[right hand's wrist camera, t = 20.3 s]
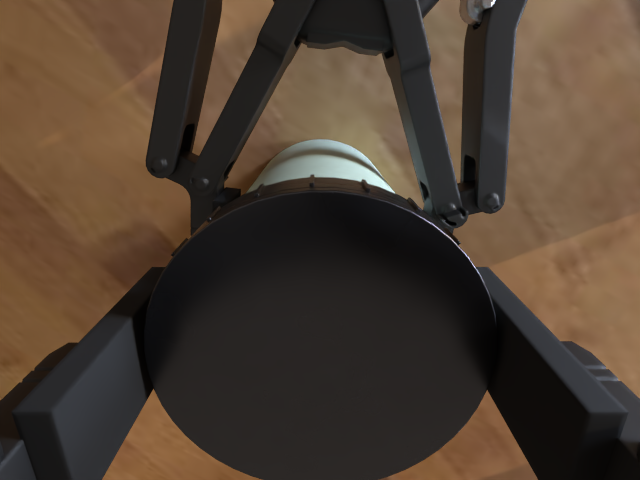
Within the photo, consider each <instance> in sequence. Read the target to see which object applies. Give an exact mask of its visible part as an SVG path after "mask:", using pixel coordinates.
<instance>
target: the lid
mask: <svg viewBox="0 0 640 480" xmlns="http://www.w3.org/2000/svg"><path fill="white" fill-rule="evenodd" d="M459 244H460V242H459V240H458V239H457V238H456V237H455V236H454V235H453V234H452V233H451V232H450V231H449V230H448V229H447V228H446V227H445V228H444V229H443V228H442V227H441V226H440V225H439V224H438V223H437V222H436V221H435V220H434V219H433V218H432V217H430V216H429V215H428V214H427V213H425V212H424V211H423V210H422V209H421V208H419V207H418V206H417V204H416V203H415V202H414V201H413V200H412V199H411V198H408V200H406V199H405V198H403V197H401V196H400V195H397V194H395V193H393V192H390V191H388V190H386V189H383V188H381V187H378V186H375V185H371V184H368V183H367V181H366V180H364V179H362V181H361V182H360V181H357V180H349V179H342V178H335V177H315V176H314V174H311V175H310V177H307V178H299V179H291V180H285V181H281V182H277V183H274V184H270V185H266V186H264V184H260V185H259V187H258V188H257V189H256V190H253V191H251V192H248V193H246V194H244V195H242V196H240V197H238V198H237V199H235V200H233V201H231V202H230V203H228V204H226V205H225V206H223V207H222V208H221V207H220V206H218V207H217V208H216V209H215V210H214V211H213V212H212V213H211V214H210V215H209V217H208V218H207V219H206V221H205V222H204V223H203V224H202V225H201V226H200V227H199V228H198V229H197V230H196V232H195V233H194V234H193V235H192V236H191V237H190V238H189V239H187V238H186V239H185V240H184V241H183V242H182V243H181V244H180V245H179V246H178V248H177V249H176V250H175V251H174V252H173V253H172V254H171V256H173V258H172V259H171V260H170V262H169V263H168V265H167V266H166V268H165V269H164V270H163V272H162V274H161V276H160V278H159V280H158V282H157V284H156V286H155V288H154V290H153V292H152V296H151V299H150V302H149V305H148V308H147V313H146V320H145V327H144V353H145V359H146V364H147V370H148V373H149V376H150V379H151V382H152V385H153V388H154V390H155V392H156V394H157V396H158V398H159V400H160V402H161V404H162V406H163V407H164V409H165V410H166V412H167V413H168V415H169V416H170V418H171V419H172V421H173V422H174V423H175V424H176V425H177V426H178V427H179V429H180V430H181V431H182V432H183V433H184V434H185V435H186V436H187V437H188V438H189V439H190V440H191V441H193V442H194V443H195V444H196V445H197V446H198V447H199V448H201V449H202V450H203V451H205V452H206V453H208V454H209V455H211V456H212V457H214V458H215V459H217V460H218V461H220V462H222V463H224V464H226V465H228V466H229V467H231V468H233V469H235V470H238V471H240V472H243V473H245V474H248V475H250V476H253V477H256V478H259V479H263V480H378V479H382V478H385V477H388V476H391V475H393V474H396V473H398V472H401V471H403V470H406V469H408V468H410V467H412V466H413V465H415V464H417V463H419V462H421V461H423V460H424V459H426V458H427V457H429V456H430V455H432V454H433V453H435V452H436V451H438V450H439V449H440V448H442V447H443V446H444V445H445V444H446V443H447V442H449V441H450V440H451V439H452V438H453V437H454V436H455V435H456V434H457V433H458V432H459V431H460V430H461V429H462V428H463V427H464V425H465V424H466V423H467V422H468V421H469V419H470V418H471V416H472V415H473V413H474V412H475V411H476V409H477V408H478V406H479V404H480V402H481V400H482V398H483V397H484V395H485V393H486V391H487V388H488V385H489V382H490V380H491V377H492V374H493V370H494V365H495V360H496V355H497V326H496V317H495V312H494V308H493V305H492V301H491V298H490V294H489V292H488V290H487V288H486V286H485V281H484V280H483V279H482V277H481V275H480V273H479V272H478V270H477V269H476V267H475V266H474V264H473V263H472V261H471V260H470V258H469V257H468V256H467V255H466V253H465V252H464V251H463V250H462V249H461V248H460V247H459V246H458V245H459Z"/></svg>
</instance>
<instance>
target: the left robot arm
mask: <svg viewBox="0 0 640 480" xmlns="http://www.w3.org/2000/svg"><path fill="white" fill-rule="evenodd" d="M273 1H274V5H273V7H272V9H271V11H270V13H269V15H268V17H267V19H266V21H265V23H264V25H263V27H262V29H261V31H260V33H259V36H258V39H257V43H256V46H255V48H254V50H253V52H252V54H251V56H250V58H249V60H248V62H247V64H246V66H245V68H244V70H243V72H242V73H241V75H240V77H239V79H238V81H237V83H236V85H235V87H234V89H233V91H232V93H231V95H230V97H229V99H228V101H227V103H226V105H225V107H224V109H223V111H222V113H221V115H220V117H219V118H218V120H217V122H216V124H215V126H214V128H213V130H212V132H211V134H210V136H209V138H208V140H207V142H206V144H205V146H204V148H203V150H202V152H201V154H200V156H197V155H195V154H193V153H192V150H193V145H194V140H195V136H196V131H197V126H198V122H199V117H200V112H201V107H202V103H203V98H204V93H205V89H206V84H207V79H208V75H209V70H210V65H211V61H212V56H213V51H214V47H215V42H216V37H217V32H218V28H219V23H220V17H221V11H222V0H174V1H173V7H172V13H171V18H170V24H169V30H168V36H167V41H166V47H165V53H164V58H163V64H162V70H161V76H160V81H159V87H158V93H157V99H156V104H155V110H154V116H153V122H152V127H151V133H150V139H149V145H148V150H147V156H146V167H147V169H148V171H149V172H150V173H151V175H153V176H155V177H157V178H168V179H170V180H172V181H174V182H176V183H178V184H180V185H182V186H183V187H184V188H185V189H186V190H187V191H188V193H189V195H190V199H191V236H192V235H193V234H194V233H195V232H196V230H197V229H198V228H199V227H200V226H201V225H202V224H203V223H204V222H205V221H206V219H207V218H208V217H209V215H210V214H211V213H212V212H213V211H214V210H215V209H216V208H217V207H218V206H220V207H221V208H222V207H223V206H225V205H226V204H228V203H230V202H231V201H233V200H235V199H237V198H238V197H240V196H241V189H237V188H228V187H226V188H225V189H224V181H226V179H227V178H228V174H229V172H230V171H231V169H232V167H233V165H234V163H235V161H236V160H237V158H238V156H239V154H240V152H241V150H242V149H243V147H244V145H245V143H246V141H247V139H248V138H249V136H250V134H251V132H252V130H253V128H254V127H255V125H256V123H257V121H258V119H259V117H260V116H261V114H262V112H263V110H264V108H265V106H266V105H267V103H268V101H269V99H270V97H271V95H272V94H273V92H274V90H275V88H276V86H277V84H278V83H279V81H280V79H281V77H282V75H283V73H284V72H285V70H286V68H287V66H288V65H289V64H290V62H291V61H292V59H293V57H294V55H295V54H296V52H297V50H298V48H299V46H300V45H301V43H303V44H306V45H307V47H308V48H316V49H330V48H336V47H345V48H347V49H350V50H352V51H354V52H357V53H359V54H365V55H374V56H377V55H378V54H380V53H382V56H383V59H384V63H385V67H386V70H387V73H388V75H389V77H390V79H391V82H392V86H393V90H394V93H395V97H396V101H397V105H398V108H399V112H400V116H401V120H402V123H403V127H404V131H405V135H406V138H407V142H408V146H409V150H410V153H411V157H412V161H413V165H414V168H415V172H416V176H417V180H418V183H419V187H420V191H421V195H422V198H423V202H424V209H423V211H424V212H425V213H427V214H428V215H429V216H430V217H432V218H433V219H434V220H435V221H436V222H437V223H438V224H439V225H440V226H441V227H442V228H443V229H444V228H445V227H446V228H447V229H448V230H449V231H450V232H451V233H452V234H453V230H454V228H458V227H460V226H462V225H463V224H464V223H465V222H466V220H467V218H468V215H470V214H474V213H479V212H484V213H489V214H491V213H495V212H497V211H498V210H500V209H501V208H502V206H503V205H504V201H505V191H506V177H507V162H508V147H509V132H510V117H511V103H512V88H513V73H514V58H515V43H516V29H517V26H518V24H519V21H520V19H521V16H522V13H523V11H524V8H525V5H526V3H527V0H460V16H461V18H462V20H463V21H464V22H465V23H467V24H468V27H467V32H466V37H465V45H464V67H463V104H462V141H461V179H460V183H458V184H457V181H456V177H455V173H454V169H453V164H452V160H451V156H450V151H449V147H448V143H447V138H446V134H445V130H444V126H443V121H442V117H441V113H440V108H439V104H438V100H437V95H436V91H435V87H434V83H433V78H432V74H431V69H430V61H431V57H430V50H429V45H428V41H427V37H426V32H425V28H424V24H423V18H424V17H425V16H426V14H427V13H428V12H429V11H430V10H431V9H432V8H433V7H434V5H435V4H436V3H437V2H438V1H439V0H273Z"/></svg>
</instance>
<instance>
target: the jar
mask: <svg viewBox="0 0 640 480" xmlns="http://www.w3.org/2000/svg"><path fill="white" fill-rule="evenodd" d="M311 174H314V176H315V177H335V178H342V179H349V180H357V181H360V182H361V181H362V179H364V180H366V181H367V183H368V184H371V185H375V186H378V187H381V188H383V189H386V190H388V191H390V192H393V193H395V192H394V191H393V190H392V189H391V187H390V186H389V185H388V183H387V182H386V181H385V179H384V178H383V177H382V175H381V174H380V173H379V171H378V170H377V169H376V167H375V166H374V165H373V164H372V163H371V161H370V160H369V159H368V158H367V157H365V156H364V155H363V154H362V153H361V152H359V151H358V150H356V149H355V148H353V147H351V146H349V145H347V144H344V143H341V142H338V141H332V140H323V139H317V140H308V141H303V142H300V143H297V144H294V145H292V146H290V147H288V148H286V149H284V150H283V151H281V152H280V153H279V154H277V155H276V156H275V157H274V158H273V159H272V160H271V161H270V162H269V163H268V165H267V166H266V167H265V168H264V170H263V171H262V172H261V174H260V175H259V176H258V178H257V179H256V180H255V182H254V183H253V184H252V186H251V187H250V188H249V190H248V191H247V192H246V193H248V192H251V191H253V190H256V189H257V188H258V187H259V185H260V184H264V186H266V185H270V184H274V183H277V182H281V181H285V180H291V179H299V178H307V177H310V175H311Z"/></svg>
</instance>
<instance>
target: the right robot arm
mask: <svg viewBox="0 0 640 480" xmlns="http://www.w3.org/2000/svg"><path fill="white" fill-rule="evenodd" d="M165 268H166V267H152V268H151V269H150V270H149V271H148V272H147V273H146V274H145V275H144V276H143V277H142V278H141V279H140V280H139V281H138V282H137V283H136V284H135V285H134V286H133V287H132V288H131V289H130V290H129V291H128V292H127V293H126V294H125V295H124V296H123V298H122V299H121V300H120V301H119V302H118V303H117V304H116V305H115V306H114V307H113V308H112V309H111V310H110V311H109V312H108V313H107V314H106V315H105V316H104V317H103V318H102V319H101V320H100V321H99V322H98V323H97V324H96V325H95V326H94V327H93V328H92V329H91V330H90V331H89V332H88V333H87V335H86V336H85V337H84V338H83V339H82V340H81V341H80V342H79V343H67V344H66V345H64V346H62V347H61V348H59V349H57V350H55V351H54V352H52V353H50V354H49V355H48V356H47V357H46V358H45V359H44V360H43V361H41V362H40V363H39V364H38V365H37V366H36V367H35V370H34V371H31V372H30V373H29V374H28V375H27V376H26V377H25V378H24V379H23V381H22V383H19V384H18V385H16V386H15V387H14V388H13V389H12V390H11V391H10V392H9V393H8V394H7V395H6V396H5V397H4V398H3V399H2V400H1V401H0V480H102V478H103V477H104V475H105V473H106V471H107V469H108V468H109V466H110V464H111V462H112V461H113V459H114V457H115V455H116V454H117V452H118V450H119V448H120V447H121V445H122V443H123V441H124V439H125V438H126V436H127V434H128V432H129V431H130V429H131V427H132V425H133V424H134V422H135V420H136V418H137V417H138V415H139V413H140V411H141V409H142V408H143V406H144V404H145V402H146V401H147V399H148V397H149V395H150V394H151V392H152V390H153V385H152V382H151V379H150V376H149V373H148V370H147V364H146V359H145V353H144V327H145V320H146V313H147V308H148V305H149V302H150V299H151V296H152V292H153V290H154V288H155V286H156V284H157V282H158V280H159V278H160V276H161V274H162V272H163V270H164V269H165ZM476 269H477V270H478V272H479V273H480V275H481V277H482V279H483V280H484V281H485V286H486V288H487V290H488V292H489V294H490V298H491V301H492V305H493V308H494V312H495V317H496V326H497V355H496V360H495V365H494V370H493V374H492V377H491V380H490V382H489V385H488V388H487V390H488V392H489V394H490V395H491V397H492V399H493V401H494V402H495V404H496V406H497V408H498V409H499V411H500V413H501V415H502V417H503V418H504V420H505V422H506V424H507V425H508V427H509V429H510V431H511V432H512V434H513V436H514V438H515V439H516V441H517V443H518V445H519V447H520V448H521V450H522V452H523V454H524V455H525V457H526V459H527V461H528V462H529V464H530V466H531V468H532V469H533V471H534V473H535V475H536V477H537V478H538V480H640V399H639V398H638V397H637V396H636V395H635V394H634V393H633V392H632V391H631V390H630V389H629V388H628V387H627V386H626V385H624V384H623V383H622V382H621V381H618V378H617V377H616V376H615V375H614V374H613V373H612V372H611V371H610V370H609V369H606V366H605V365H603V364H602V363H601V362H600V361H599V360H598V359H597V358H596V357H595V356H594V355H593V354H592V353H591V352H589V351H587V350H585V349H584V348H582V347H580V346H579V345H577V344H575V343H574V342H572V341H559V340H558V339H557V338H556V337H555V336H554V335H553V333H552V332H551V331H550V330H549V329H548V328H547V327H546V326H545V325H544V324H543V323H542V322H541V321H540V320H539V319H538V318H537V317H536V316H535V315H534V314H533V313H532V312H531V311H530V310H529V309H528V308H527V307H526V306H525V305H524V304H523V303H522V302H521V301H520V300H519V299H518V297H517V296H516V295H515V294H514V293H513V292H512V291H511V290H510V289H509V288H508V287H507V286H506V285H505V284H504V283H503V282H502V281H501V280H500V279H499V278H498V277H497V276H496V275H495V274H494V273H493V272H492V271H491V270H490V269H489V268H488V267H476Z"/></svg>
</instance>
